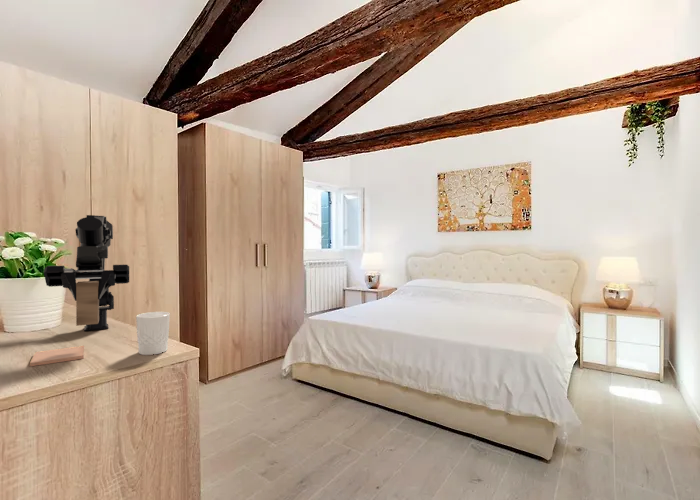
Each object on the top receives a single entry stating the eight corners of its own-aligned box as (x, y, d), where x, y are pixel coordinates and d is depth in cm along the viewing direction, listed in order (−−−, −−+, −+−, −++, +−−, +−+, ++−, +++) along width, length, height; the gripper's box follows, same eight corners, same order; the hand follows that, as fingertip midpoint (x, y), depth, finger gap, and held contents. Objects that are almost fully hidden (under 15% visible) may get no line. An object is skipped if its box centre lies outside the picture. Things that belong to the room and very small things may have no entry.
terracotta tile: (35, 355, 90) (35, 351, 90) (84, 348, 96) (84, 345, 96) (29, 366, 82) (29, 363, 82) (83, 358, 88) (83, 355, 88)
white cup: (144, 358, 89) (144, 318, 89) (131, 351, 94) (131, 314, 94) (175, 350, 95) (175, 314, 95) (161, 345, 100) (161, 310, 100)
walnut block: (78, 322, 95) (78, 281, 94) (99, 320, 97) (99, 280, 97) (76, 325, 91) (76, 283, 91) (97, 323, 93) (97, 282, 93)
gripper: (45, 235, 92) (35, 281, 83) (129, 236, 102) (128, 277, 93) (51, 263, 99) (42, 309, 89) (129, 262, 109) (129, 303, 99)
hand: (87, 299), depth 93 cm, fingers closed on walnut block, 4 cm apart
